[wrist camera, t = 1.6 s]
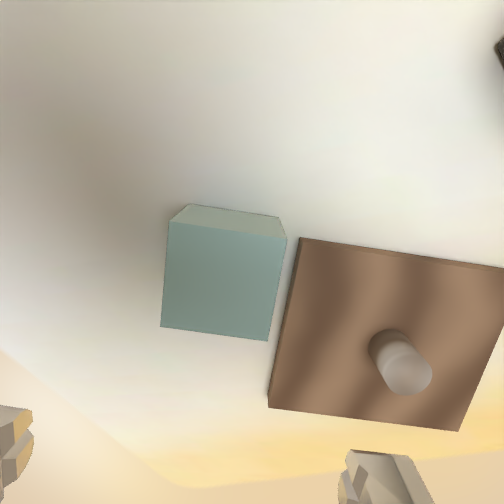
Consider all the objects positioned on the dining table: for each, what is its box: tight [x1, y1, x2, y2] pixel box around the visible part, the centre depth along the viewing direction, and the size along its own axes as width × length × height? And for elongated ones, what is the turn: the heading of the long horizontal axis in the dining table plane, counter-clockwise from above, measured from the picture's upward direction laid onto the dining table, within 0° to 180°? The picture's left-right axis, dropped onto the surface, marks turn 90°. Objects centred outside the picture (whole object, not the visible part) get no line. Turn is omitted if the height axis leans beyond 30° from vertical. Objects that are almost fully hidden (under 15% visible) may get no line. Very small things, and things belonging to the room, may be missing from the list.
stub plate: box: [268, 237, 504, 432], centre depth 24 cm, size 16×14×5 cm
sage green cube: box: [160, 204, 287, 341], centre depth 21 cm, size 6×6×6 cm
